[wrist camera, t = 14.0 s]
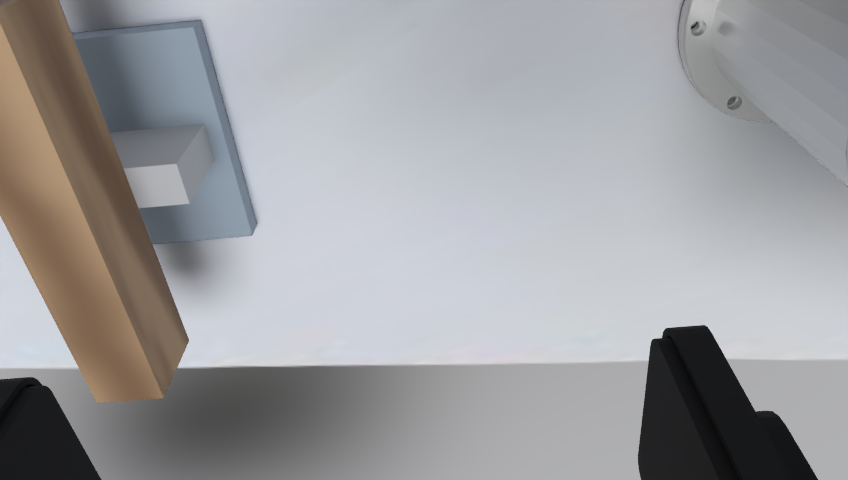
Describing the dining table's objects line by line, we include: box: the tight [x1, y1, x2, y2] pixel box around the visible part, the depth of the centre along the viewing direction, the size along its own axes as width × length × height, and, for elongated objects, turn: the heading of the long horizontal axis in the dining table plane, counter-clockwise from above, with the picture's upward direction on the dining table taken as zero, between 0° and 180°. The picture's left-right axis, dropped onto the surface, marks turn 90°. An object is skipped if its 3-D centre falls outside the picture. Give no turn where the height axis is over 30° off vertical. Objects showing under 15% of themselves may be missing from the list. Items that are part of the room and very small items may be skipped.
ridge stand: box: [72, 20, 257, 244], centre depth 40 cm, size 12×14×7 cm
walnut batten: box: [0, 0, 189, 403], centre depth 35 cm, size 4×22×5 cm, turn 6°
